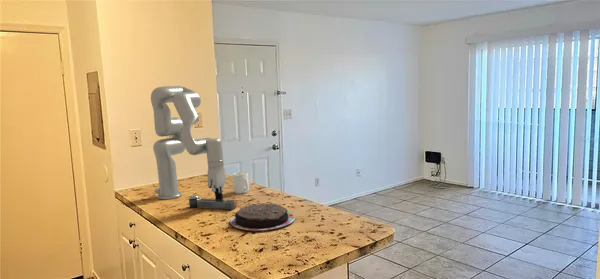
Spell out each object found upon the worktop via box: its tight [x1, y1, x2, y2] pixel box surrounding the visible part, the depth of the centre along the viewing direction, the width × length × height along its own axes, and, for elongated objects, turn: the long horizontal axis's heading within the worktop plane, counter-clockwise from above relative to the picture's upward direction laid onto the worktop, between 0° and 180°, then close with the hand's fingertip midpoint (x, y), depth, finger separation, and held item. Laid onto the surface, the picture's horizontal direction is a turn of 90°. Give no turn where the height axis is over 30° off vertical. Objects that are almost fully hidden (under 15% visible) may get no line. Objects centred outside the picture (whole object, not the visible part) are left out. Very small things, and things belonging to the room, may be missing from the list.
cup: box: [232, 171, 250, 194], centre depth 222 cm, size 8×12×10 cm
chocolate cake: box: [229, 202, 296, 233], centre depth 174 cm, size 28×28×7 cm
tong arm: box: [189, 194, 238, 209], centre depth 197 cm, size 24×5×5 cm, turn 71°
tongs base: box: [188, 197, 235, 211], centre depth 197 cm, size 24×6×4 cm, turn 73°
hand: (219, 200), depth 200 cm, fingers closed
